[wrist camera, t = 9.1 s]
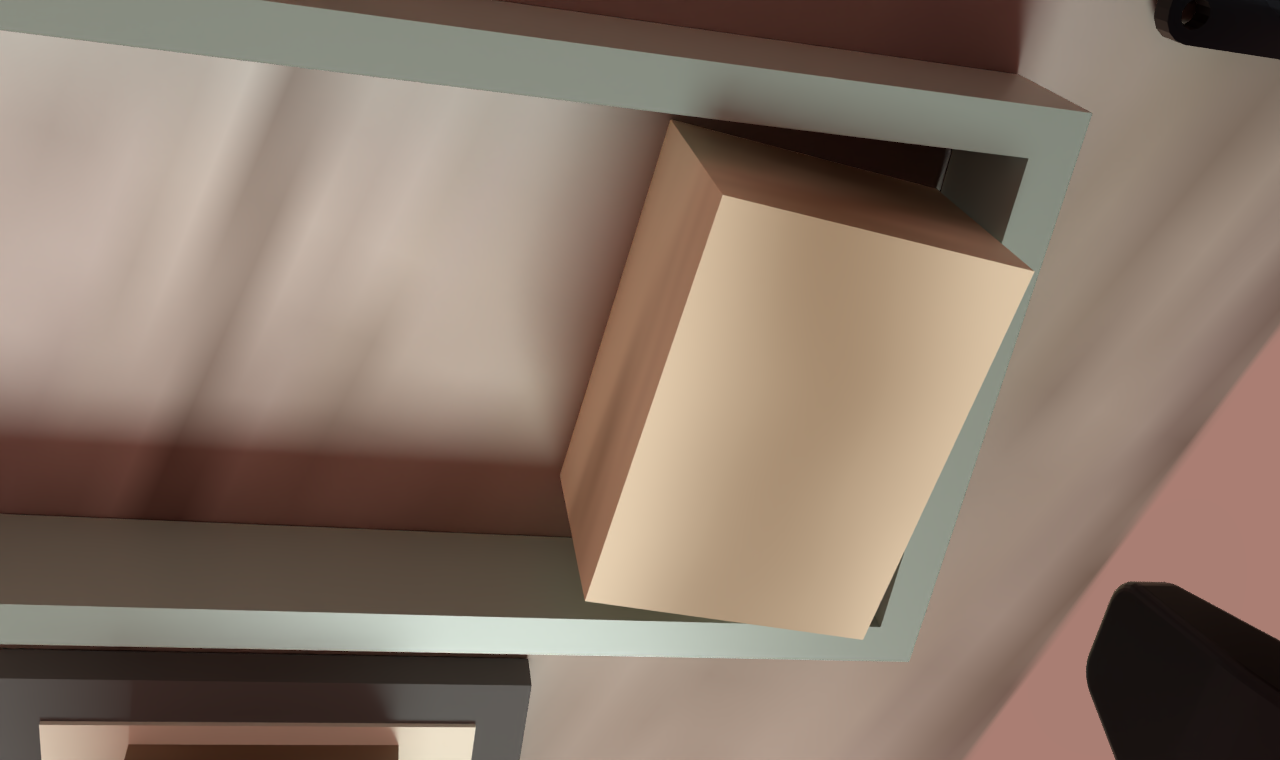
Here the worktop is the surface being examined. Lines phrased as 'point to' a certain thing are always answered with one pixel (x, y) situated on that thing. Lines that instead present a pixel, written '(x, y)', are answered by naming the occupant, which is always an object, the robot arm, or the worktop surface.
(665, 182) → the maple box
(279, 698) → the pad
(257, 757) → the walnut block
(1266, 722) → the robot arm
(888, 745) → the worktop surface
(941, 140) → the parts bin
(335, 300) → the worktop surface
